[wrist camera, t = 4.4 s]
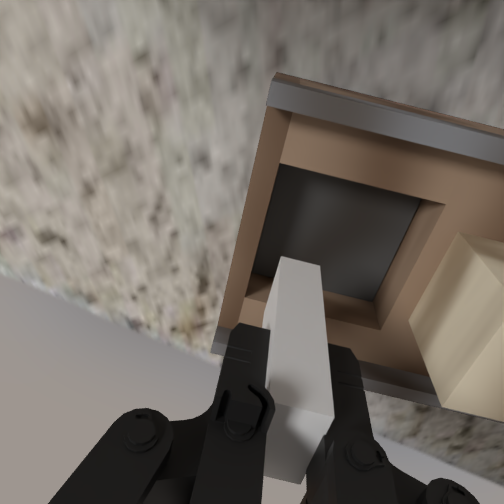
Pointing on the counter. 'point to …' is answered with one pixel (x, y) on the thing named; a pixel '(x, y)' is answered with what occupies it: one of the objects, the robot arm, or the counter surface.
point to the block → (465, 327)
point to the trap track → (362, 218)
